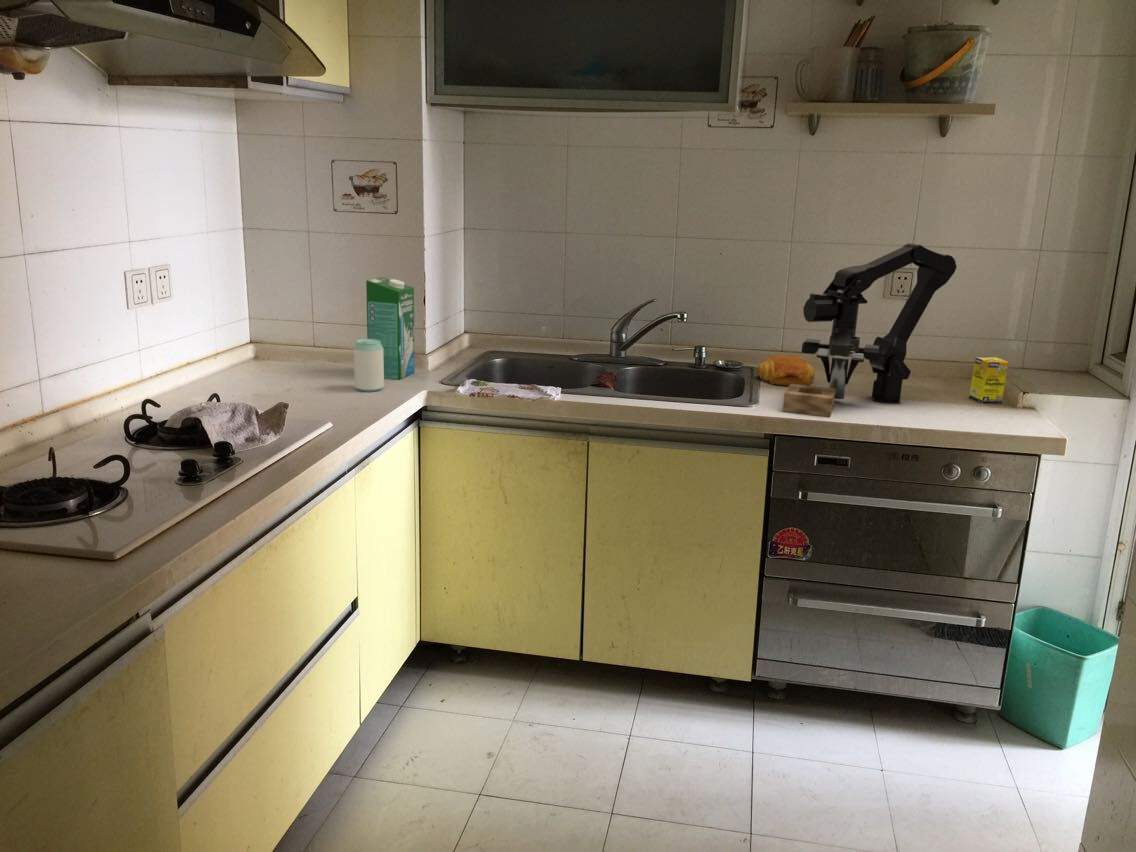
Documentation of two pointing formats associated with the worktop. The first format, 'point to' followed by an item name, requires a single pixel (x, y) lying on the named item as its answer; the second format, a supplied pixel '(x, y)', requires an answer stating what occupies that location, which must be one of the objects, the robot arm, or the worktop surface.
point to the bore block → (809, 400)
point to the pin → (838, 375)
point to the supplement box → (988, 379)
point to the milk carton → (392, 324)
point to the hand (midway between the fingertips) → (837, 383)
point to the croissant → (786, 370)
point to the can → (368, 365)
